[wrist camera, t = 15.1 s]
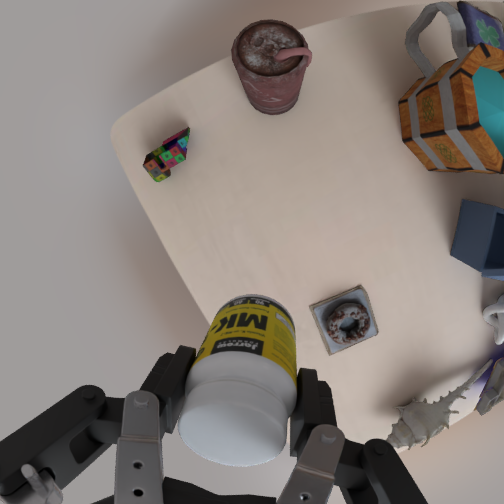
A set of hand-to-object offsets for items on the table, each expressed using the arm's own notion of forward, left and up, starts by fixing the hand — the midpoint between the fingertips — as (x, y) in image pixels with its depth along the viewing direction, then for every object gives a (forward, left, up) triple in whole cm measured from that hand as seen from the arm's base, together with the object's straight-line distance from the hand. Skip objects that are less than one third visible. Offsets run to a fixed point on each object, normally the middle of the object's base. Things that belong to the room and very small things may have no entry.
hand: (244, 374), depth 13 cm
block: (-11, -13, -23) cm, 28 cm away
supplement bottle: (0, 0, -5) cm, 5 cm away
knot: (+5, +40, -25) cm, 47 cm away
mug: (-23, +19, -25) cm, 39 cm away
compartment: (-7, +32, -25) cm, 41 cm away
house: (+16, +48, -19) cm, 54 cm away
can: (-19, -2, -25) cm, 31 cm away
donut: (+8, +12, -25) cm, 29 cm away
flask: (-42, +27, -26) cm, 57 cm away
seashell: (+21, +35, -25) cm, 48 cm away
